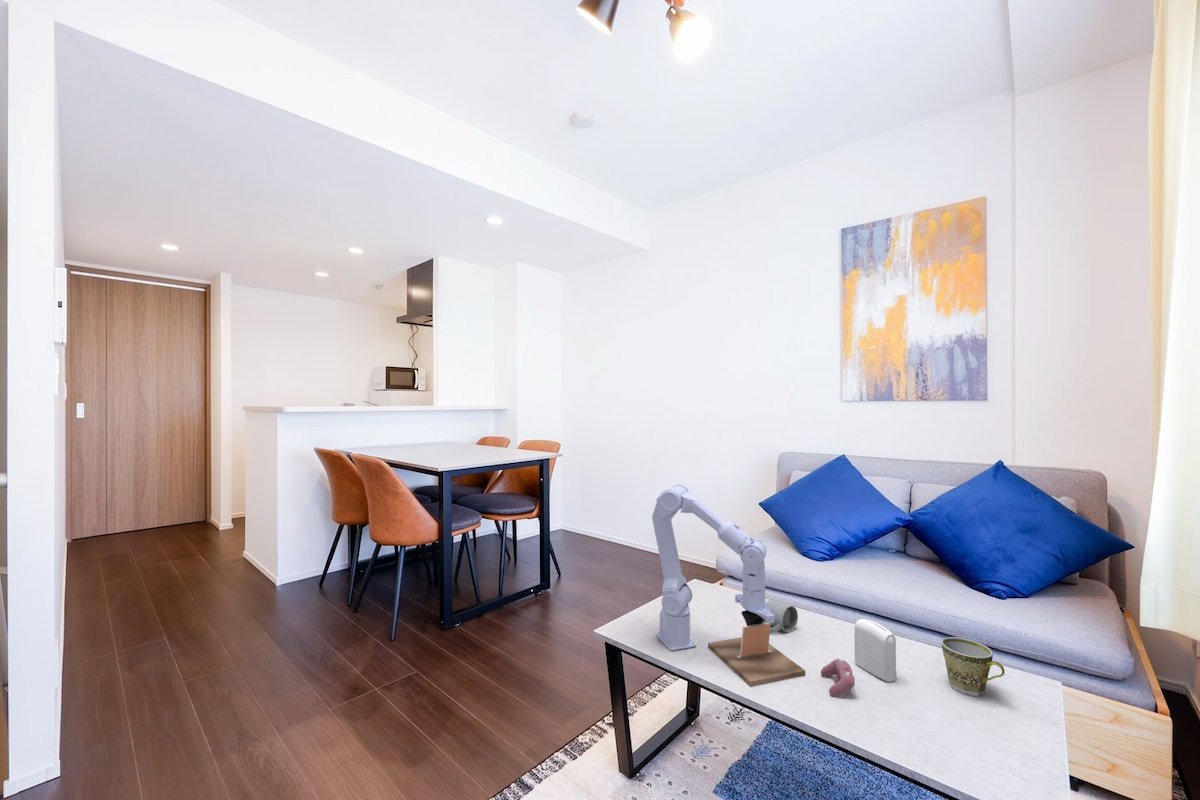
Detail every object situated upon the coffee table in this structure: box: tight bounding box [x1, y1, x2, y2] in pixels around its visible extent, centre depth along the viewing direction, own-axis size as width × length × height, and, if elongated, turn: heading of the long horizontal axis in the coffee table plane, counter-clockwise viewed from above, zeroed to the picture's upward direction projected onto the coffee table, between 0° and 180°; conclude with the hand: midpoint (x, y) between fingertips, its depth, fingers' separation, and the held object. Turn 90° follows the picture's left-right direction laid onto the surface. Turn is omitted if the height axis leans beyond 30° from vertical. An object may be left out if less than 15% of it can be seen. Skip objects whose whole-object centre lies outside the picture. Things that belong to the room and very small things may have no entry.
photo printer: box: [854, 618, 897, 683], centre depth 128 cm, size 10×4×12 cm, turn 20°
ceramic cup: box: [941, 636, 1006, 697], centre depth 119 cm, size 13×10×10 cm
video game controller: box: [820, 657, 856, 697], centre depth 121 cm, size 10×5×7 cm, turn 169°
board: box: [707, 636, 806, 687], centre depth 133 cm, size 20×16×1 cm
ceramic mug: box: [762, 599, 799, 634], centre depth 152 cm, size 11×8×8 cm
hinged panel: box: [737, 622, 772, 659], centre depth 133 cm, size 9×10×1 cm
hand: (754, 638), depth 133 cm, fingers closed, pressing on hinged panel
